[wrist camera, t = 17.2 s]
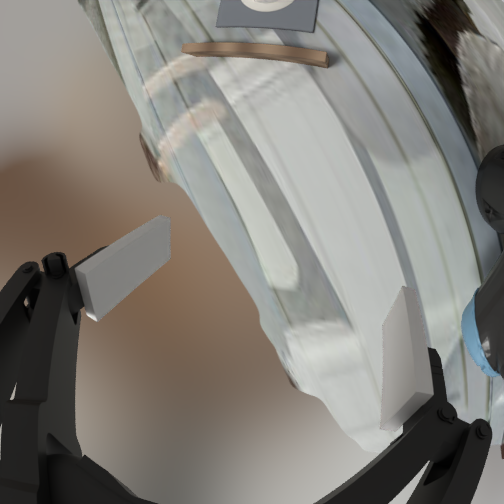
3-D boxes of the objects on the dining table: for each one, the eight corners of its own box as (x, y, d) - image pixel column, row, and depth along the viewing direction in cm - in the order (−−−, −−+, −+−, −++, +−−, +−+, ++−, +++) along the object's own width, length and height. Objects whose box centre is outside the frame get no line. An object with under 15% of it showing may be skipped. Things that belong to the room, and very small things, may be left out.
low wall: (328, 59, 34) (326, 52, 29) (327, 68, 34) (325, 61, 30) (197, 49, 38) (182, 43, 34) (196, 56, 39) (181, 52, 35)
